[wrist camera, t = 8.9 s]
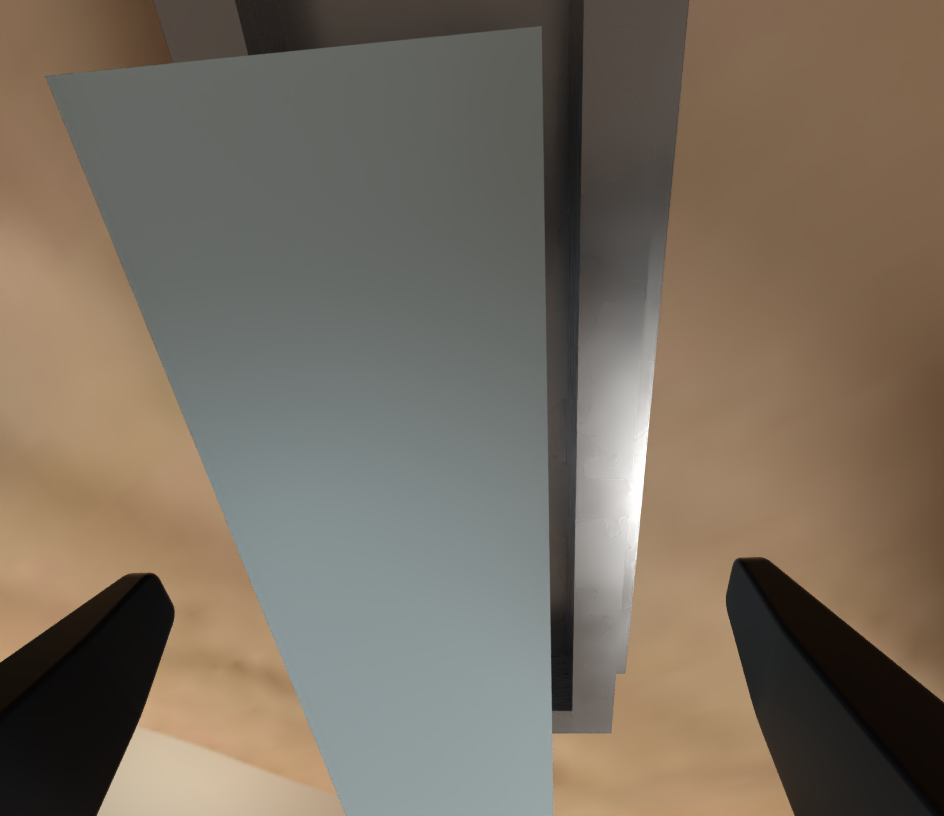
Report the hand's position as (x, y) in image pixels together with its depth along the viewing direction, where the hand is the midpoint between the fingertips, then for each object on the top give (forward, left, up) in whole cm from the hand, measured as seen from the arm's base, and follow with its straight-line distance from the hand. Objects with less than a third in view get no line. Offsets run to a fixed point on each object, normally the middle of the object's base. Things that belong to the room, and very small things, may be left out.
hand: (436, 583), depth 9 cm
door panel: (0, 0, -6) cm, 6 cm away
